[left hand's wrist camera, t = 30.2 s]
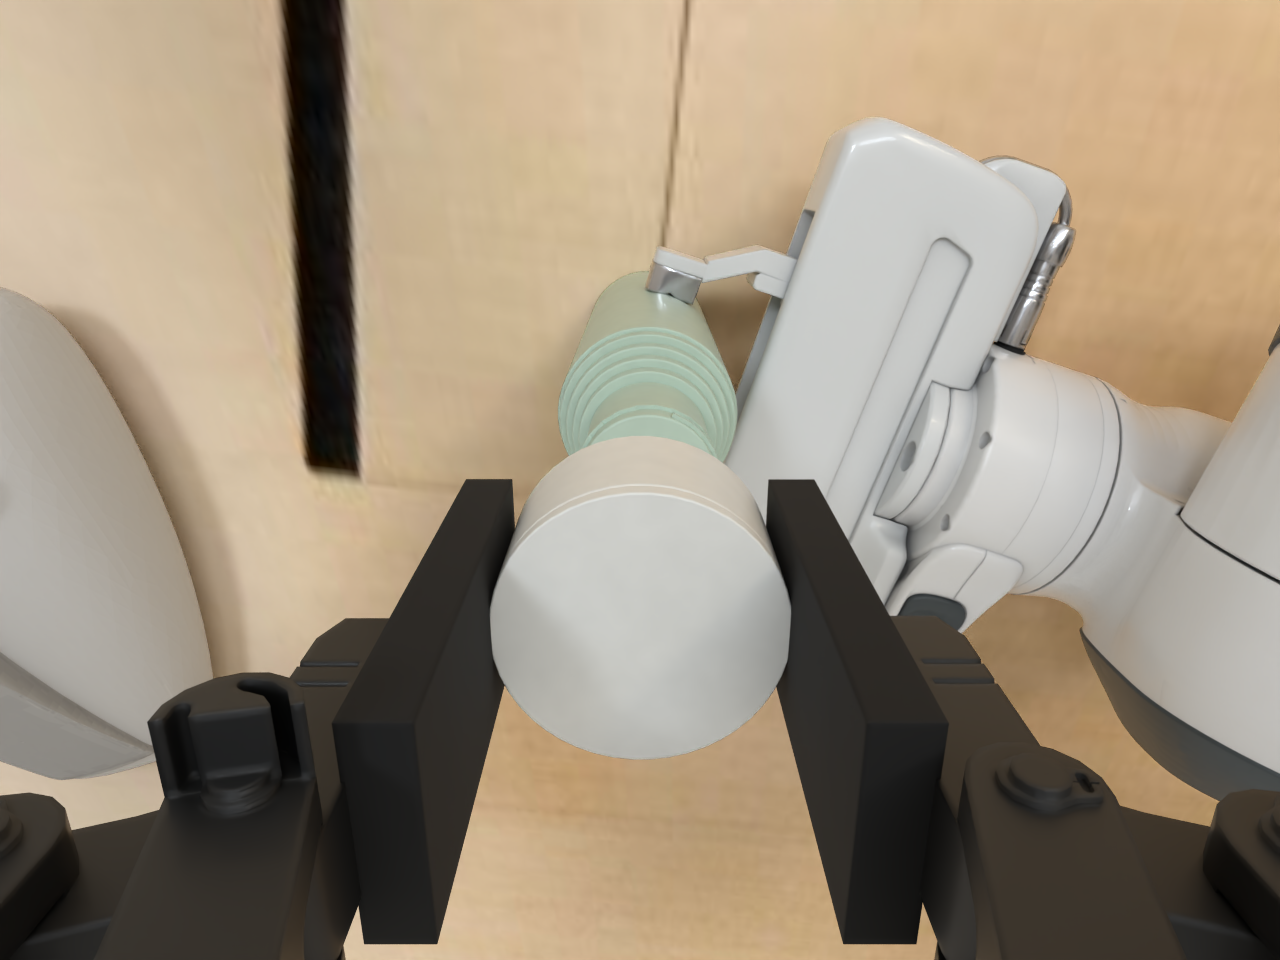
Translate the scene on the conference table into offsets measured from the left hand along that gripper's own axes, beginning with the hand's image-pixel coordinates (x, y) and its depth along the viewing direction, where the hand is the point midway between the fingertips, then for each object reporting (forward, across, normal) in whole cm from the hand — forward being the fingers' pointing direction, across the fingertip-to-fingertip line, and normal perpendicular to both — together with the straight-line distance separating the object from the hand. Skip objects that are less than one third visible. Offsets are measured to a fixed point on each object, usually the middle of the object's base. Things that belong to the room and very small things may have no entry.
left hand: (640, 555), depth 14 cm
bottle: (+24, 0, -1) cm, 24 cm away
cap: (-2, 0, 0) cm, 2 cm away
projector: (+24, -28, -10) cm, 38 cm away
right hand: (+18, -1, 0) cm, 18 cm away
